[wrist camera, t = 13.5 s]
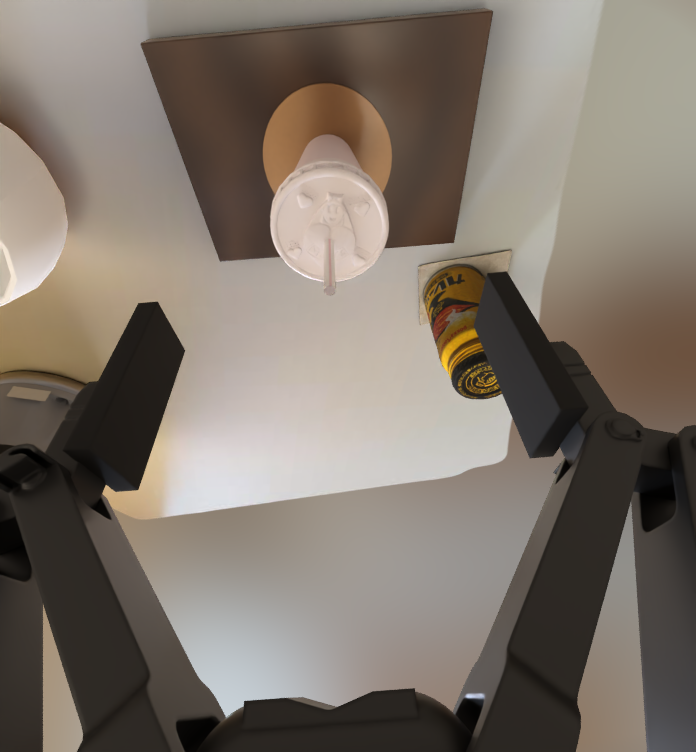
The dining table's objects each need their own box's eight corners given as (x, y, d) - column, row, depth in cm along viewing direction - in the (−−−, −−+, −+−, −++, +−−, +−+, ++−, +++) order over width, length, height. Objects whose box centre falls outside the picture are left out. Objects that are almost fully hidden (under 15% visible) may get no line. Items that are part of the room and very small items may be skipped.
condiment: (417, 265, 34) (446, 357, 26) (511, 249, 33) (569, 340, 25) (419, 323, 40) (443, 414, 32) (499, 311, 39) (544, 401, 31)
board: (223, 252, 32) (219, 263, 31) (147, 39, 22) (138, 43, 21) (450, 234, 32) (454, 244, 31) (485, 8, 21) (494, 10, 20)
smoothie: (281, 203, 28) (260, 327, 18) (283, 100, 23) (257, 198, 14) (364, 215, 29) (383, 338, 19) (383, 119, 24) (420, 221, 15)
